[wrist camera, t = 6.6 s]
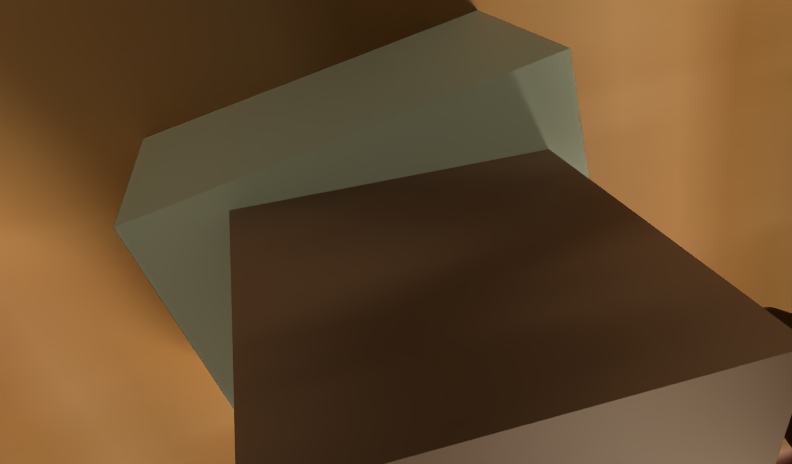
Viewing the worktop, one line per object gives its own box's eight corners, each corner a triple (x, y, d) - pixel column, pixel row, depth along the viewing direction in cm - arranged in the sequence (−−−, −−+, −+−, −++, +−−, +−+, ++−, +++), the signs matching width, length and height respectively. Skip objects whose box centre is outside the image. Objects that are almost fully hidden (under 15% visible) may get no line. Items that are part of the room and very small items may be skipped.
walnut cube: (548, 149, 10) (814, 345, 5) (540, 382, 12) (716, 645, 8) (229, 210, 9) (235, 505, 4) (290, 448, 11) (333, 785, 7)
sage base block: (472, 8, 12) (570, 48, 9) (532, 272, 16) (617, 373, 12) (144, 134, 12) (113, 227, 8) (283, 376, 15) (301, 510, 12)
